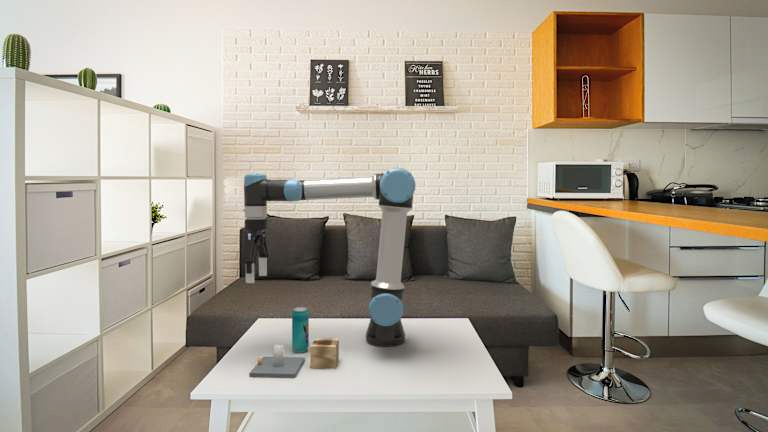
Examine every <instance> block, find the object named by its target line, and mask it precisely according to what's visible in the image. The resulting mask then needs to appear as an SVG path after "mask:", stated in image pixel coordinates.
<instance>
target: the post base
mask: <svg viewBox="0 0 768 432" xmlns="http://www.w3.org/2000/svg"><path fill="white" fill-rule="evenodd" d="M305 362H306V357H305V356H304V357H302V356H299V357H298V356H284V344H275V345H273V356H262V357H258V358H257V363H256V364H255V366H253V368H252V369H251V370H250V371H249V373H248V375H249V378H277V379H278V378H283V379H284V378H285V379H286V378H287V379H289V378H290V379H295V378H296V377H297V375H298V374H299V372H300V370H301V369H302V367H303V365H304V364H305Z"/></svg>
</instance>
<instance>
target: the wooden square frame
mask: <svg viewBox="0 0 768 432" xmlns="http://www.w3.org/2000/svg"><path fill="white" fill-rule="evenodd" d="M339 341H340V339H339V338H317V337H316V338H314V339H313V341H312V342H311V345H310V346H309V347H310V348H309V350H310V353H309V354H310V356H309V357H310V360H309V361H310V363H309V364H310V365H309V367H310V369H334V370H335V369H336V368H337V365H338V363H339V359H340V358H339V357H340V343H339Z"/></svg>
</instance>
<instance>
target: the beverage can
mask: <svg viewBox="0 0 768 432" xmlns="http://www.w3.org/2000/svg"><path fill="white" fill-rule="evenodd" d="M309 315H310V313H309V311H308V307H305V306H298V307H293V308H292V313H291V334H292V335H291V339H292V341H291V344H292V346H291V347H292V349H293V352H294V353H296V354H298V353H299V354H301V353H302V354H303V353H306V352H307V351H308V349H309V347H310V346H309V344H310V343H309V342H310V341H309V340H310V339H309V334H310V332H309V330H310V327H309V326H310V324H309V322H310V321H309V319H310V318H309Z"/></svg>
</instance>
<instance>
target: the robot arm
mask: <svg viewBox="0 0 768 432" xmlns="http://www.w3.org/2000/svg"><path fill="white" fill-rule="evenodd" d="M243 180H244V181H243V198H244V205H243V206H244V208H243V212H244V218H245V219H244V229H245V230H246V231H249V233H246V234H245V242H244V250H243V256H242V262H241V263H242V264H243V265H245V283H246V284H255V263H254V259H255V255H256V251H257V252H258V255H259V257H258V276H259V277H266V276H267V277H268V275H267V274H268V266H267V265H268V264H267V263H268V258H270V252H269V248H268V247H269V246H268V241H267V233H266V230H267V229H268V220H267V217H268V206H267V204H268V202H298V201H311V200H312V201H314V200H334V199H335V200H337V199H357V198H358V199H359V198H374V200H378V207H379V209H380V210H381V211H382V213H381V220H380V223H381V224H380V233H379V245H378V256H377V265H376V266H377V267H376V275H375V279H374V280H371V282H370V286H369V289H370V295H369V303H368V308H367V309H368V315H369V316H370V320H369V323H368V326H367V330H366V332H365V341H366V343H367V344H369V345H372V346H377V347H394V346H398V345H399V346H400V345H402V344H404V343H405V342H406V332H405V329H404V327H403V326H404V325H403V323H402V317H403V314H404V310H405V309H404V296H405V285H404V284H403V282H402V281H401V280H402V270H403V261H404V260H403V259H404V250H405V240H406V239H405V238H406V229H407V218H408V213H409V212H410V211H411V210H412V209H413V202H414V193H415V191H416V180H415V178H414V176H413V174H412V173H411V171H409V170H407V169H405V168H404V167H392V168H389V169H388V170H386V171H385V172H383V173H382V172H381V173H374V174H373V175H371V176H363V177H362V176H361V177H358V176H357V177H345V178H343V177H342V178H341V177H339V178H323V179H318V178H317V179H304V180H302V179H300V180H299V179H293V178H292V179H291V178H290V179H270V178H269V179H268V178H267V175H266V174H265V173H246V174H245V175H244V179H243Z"/></svg>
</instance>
